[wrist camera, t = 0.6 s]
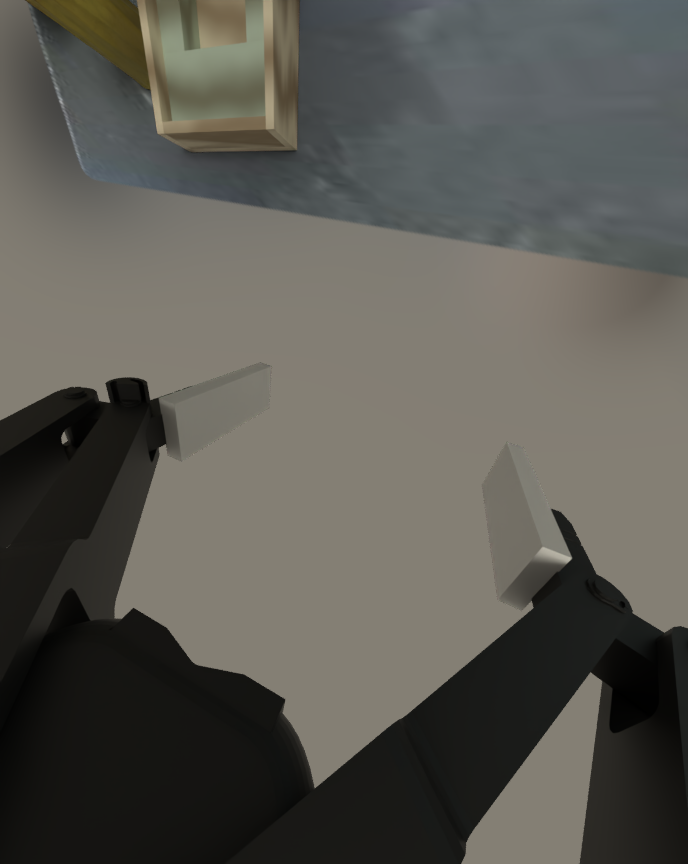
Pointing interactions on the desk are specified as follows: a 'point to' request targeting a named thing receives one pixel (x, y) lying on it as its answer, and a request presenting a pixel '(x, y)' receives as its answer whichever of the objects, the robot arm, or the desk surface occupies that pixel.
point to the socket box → (223, 72)
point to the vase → (104, 30)
